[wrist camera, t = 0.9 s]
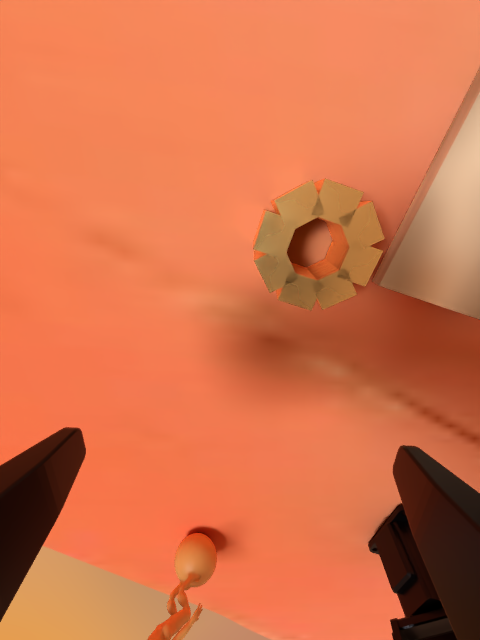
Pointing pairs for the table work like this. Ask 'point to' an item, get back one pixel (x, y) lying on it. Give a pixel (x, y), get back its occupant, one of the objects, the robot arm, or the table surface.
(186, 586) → the figurine
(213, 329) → the table surface
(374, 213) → the brass gear
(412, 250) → the gear board
